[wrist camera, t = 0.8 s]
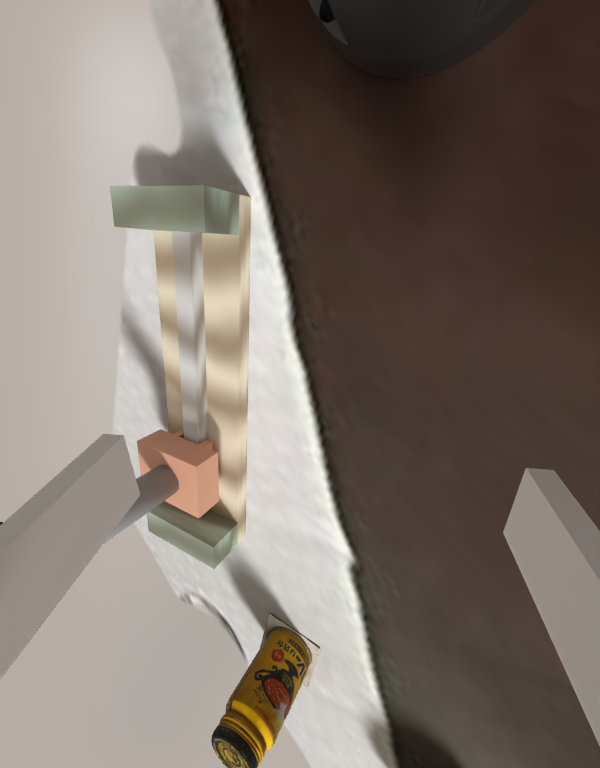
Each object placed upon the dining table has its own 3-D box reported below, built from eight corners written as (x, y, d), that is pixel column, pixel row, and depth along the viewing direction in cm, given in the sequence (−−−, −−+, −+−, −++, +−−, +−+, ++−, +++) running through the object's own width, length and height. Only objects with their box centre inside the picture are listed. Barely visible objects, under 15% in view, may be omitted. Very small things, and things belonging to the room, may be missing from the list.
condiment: (321, 647, 41) (264, 770, 31) (307, 686, 45) (252, 808, 35) (270, 611, 44) (202, 713, 34) (261, 650, 47) (197, 753, 37)
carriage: (169, 425, 39) (-5, 510, 26) (225, 447, 36) (59, 558, 22) (172, 470, 41) (14, 570, 28) (226, 494, 38) (75, 623, 24)
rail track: (164, 196, 33) (110, 186, 28) (250, 197, 29) (203, 184, 24) (183, 504, 46) (148, 530, 41) (245, 535, 42) (214, 569, 37)
